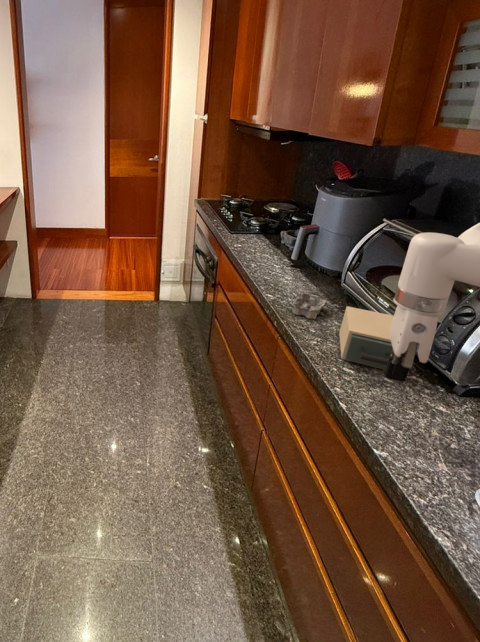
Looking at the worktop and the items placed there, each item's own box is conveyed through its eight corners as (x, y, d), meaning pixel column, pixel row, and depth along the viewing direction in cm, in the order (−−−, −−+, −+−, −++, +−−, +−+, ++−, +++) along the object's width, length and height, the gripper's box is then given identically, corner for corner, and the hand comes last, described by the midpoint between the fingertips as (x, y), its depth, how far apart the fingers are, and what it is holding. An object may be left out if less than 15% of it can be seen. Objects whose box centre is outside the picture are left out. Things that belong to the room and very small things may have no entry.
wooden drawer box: (396, 372, 92) (407, 343, 89) (341, 358, 97) (349, 330, 94) (388, 343, 103) (397, 316, 100) (339, 332, 108) (346, 306, 105)
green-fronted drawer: (398, 382, 88) (407, 358, 85) (346, 369, 92) (353, 345, 89) (388, 344, 101) (395, 322, 98) (342, 334, 106) (348, 313, 103)
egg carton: (300, 300, 125) (302, 289, 123) (325, 308, 120) (328, 297, 118) (287, 312, 118) (290, 300, 116) (314, 321, 113) (317, 309, 111)
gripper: (457, 322, 65) (425, 407, 71) (436, 286, 77) (410, 362, 83) (401, 312, 68) (376, 394, 75) (389, 279, 80) (369, 353, 87)
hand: (394, 377), depth 79 cm, fingers closed
